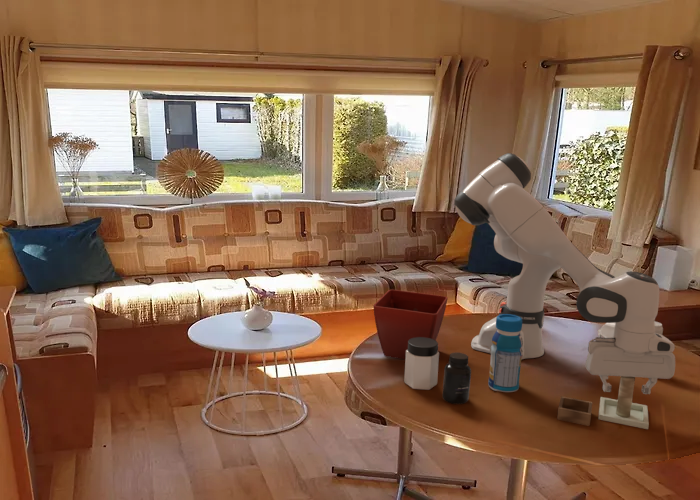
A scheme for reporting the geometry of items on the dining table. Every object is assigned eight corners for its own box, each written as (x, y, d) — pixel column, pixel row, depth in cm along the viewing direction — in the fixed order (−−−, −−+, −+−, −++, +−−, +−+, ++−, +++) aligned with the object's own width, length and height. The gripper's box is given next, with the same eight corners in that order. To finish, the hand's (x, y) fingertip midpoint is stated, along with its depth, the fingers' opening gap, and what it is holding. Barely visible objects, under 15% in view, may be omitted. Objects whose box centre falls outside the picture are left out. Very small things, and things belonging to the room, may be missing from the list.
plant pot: (433, 369, 180) (436, 313, 176) (370, 359, 185) (372, 305, 182) (444, 347, 197) (448, 296, 194) (387, 338, 203) (389, 289, 200)
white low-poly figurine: (598, 348, 209) (637, 345, 196) (592, 323, 210) (631, 319, 197) (614, 344, 214) (653, 341, 201) (609, 319, 215) (648, 315, 202)
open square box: (556, 421, 150) (558, 408, 150) (559, 408, 157) (561, 396, 156) (589, 428, 148) (590, 414, 147) (590, 415, 154) (592, 402, 153)
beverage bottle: (503, 396, 163) (510, 324, 159) (480, 384, 170) (486, 315, 166) (525, 390, 167) (532, 319, 163) (502, 378, 174) (509, 310, 170)
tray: (598, 421, 151) (599, 414, 151) (599, 403, 161) (600, 396, 161) (647, 431, 147) (648, 424, 146) (646, 412, 157) (647, 405, 156)
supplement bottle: (462, 407, 156) (466, 363, 154) (437, 400, 160) (440, 356, 157) (472, 397, 162) (476, 354, 159) (448, 391, 165) (451, 348, 163)
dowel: (615, 415, 153) (620, 378, 151) (616, 410, 156) (620, 373, 154) (630, 418, 152) (635, 380, 150) (629, 413, 155) (635, 375, 152)
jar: (442, 387, 167) (445, 345, 165) (416, 392, 164) (419, 349, 161) (424, 374, 175) (426, 334, 173) (399, 379, 172) (401, 338, 169)
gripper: (593, 341, 147) (587, 395, 150) (681, 345, 146) (673, 400, 149) (585, 332, 153) (579, 384, 156) (670, 336, 152) (662, 388, 155)
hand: (626, 392), depth 153 cm, fingers open, 8 cm apart
